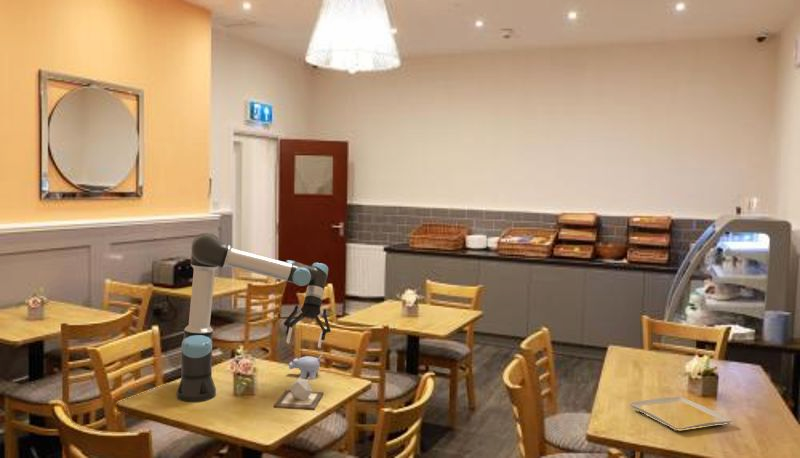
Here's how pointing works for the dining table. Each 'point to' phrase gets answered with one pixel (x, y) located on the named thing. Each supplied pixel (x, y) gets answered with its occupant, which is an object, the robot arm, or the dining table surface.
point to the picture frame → (298, 401)
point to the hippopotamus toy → (306, 366)
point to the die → (301, 389)
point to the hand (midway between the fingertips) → (303, 345)
